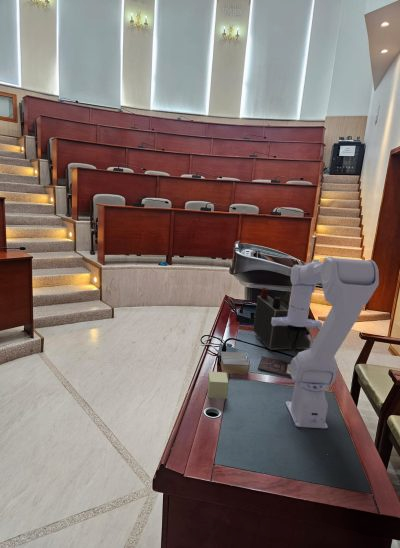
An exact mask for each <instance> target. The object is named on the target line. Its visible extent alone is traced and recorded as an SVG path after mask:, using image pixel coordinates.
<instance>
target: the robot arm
mask: <svg viewBox="0 0 400 548" xmlns="http://www.w3.org/2000/svg"><path fill="white" fill-rule="evenodd" d="M290 270H291V271H290V283H291V284H292V285H291V291H290V297H289V303H288V306H289V309H288V315H287V317H277V318H274V317H272V320H271V324H272V326H276V325H279V326H285V327H286V330H287V334H288V339H289V348H290V349H289V350H290V351H296V350H297V348H296V347H297V345H298V343H299V342H300V340H301V339H302V337H303V336H304V335H305V334H306V332H307V330H306V328H307V329H308V328H310V329H311V328H313V329H317V330H319V331H318V333H317V335H316V337H315V339H314V340H313V342H312V344H311V345H310V348H307V349H304V350H301V351H299V352H298V353H297V355H295V356H294V357H293V358H292V359H291V361H290V363H291V365H290V373H291V377H292V378H291V380H292V381H293V382H294V387H293V393H292V398H291V401H285V405H286V407H287V410H288V411H289V414H290V416H291V418H292V421H293V422H294V425H295V427H298V428H310V429H311V428H314V429H328V427H329V426H328V424H327V423H326V420H327V419H326V418H327V414H328V409H329V404H328V401H327V399H326V395H325V391H326V390H327V389H329V386H331V385H332V384H334V382H335V380H336V377H337V372H338V371H339V367H338V362H337V359H336V357H335V355H336V354H337V352H338V351H339V350H340V348H341V346H342V345H343V343H344V341H345V340H346V338H347V336H348V335H349V333H350V332H351V330H352V328H353V327H354V325H355V323H356V322H357V320H358V318H359V317H360V315H361V313H362V310H363V308H364V305H367V304H368V302H369V301H370V299H371V298H372V296H373V294H374V293H375V291H376V289H377V288H378V286H379V284H380V283H379V282H380V278H379V277H380V276H379V273H380V272H379V268H378V265H377V262H375V261H374V260H372V259H366V260H364V259H354V258H353V259H351V258H339V257H333V256H328V257H325V258H324V259H323V262H322V261H320V260H319V259H312V260H311V262H305V264H304V265H299V264H293V266H292V267H291V269H290ZM318 284H322V285H321V286H322V293H323V295H324V297H323V298H324V300H325V301H326V302H327V303H328V304H330V305H331V308H330V310H329V312H328V314H327V315H326V318H325V320H324V321H323V323H322V321H320V320H316V319H311V318H309V312H310V306H311V301H312V295H313V294H314V293H315V289H316V286H317V285H318Z"/></svg>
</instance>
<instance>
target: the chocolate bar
mask: <svg viewBox="0 0 400 548" xmlns="http://www.w3.org/2000/svg"><path fill="white" fill-rule="evenodd" d="M290 365H291V361H290V362H289V361H286V360H281V359H276V358H272V357H268V356H261V357H260V361H259V364H258V366H257V370H258V371H263V372H265V373H270V374H274V375H278V376H282V377H287V378H291V379H292V377H291V373H290Z"/></svg>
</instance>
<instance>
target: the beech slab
mask: <svg viewBox="0 0 400 548" xmlns="http://www.w3.org/2000/svg"><path fill="white" fill-rule="evenodd" d="M220 353H221V362H220V361H219V364H220V368H221V372H223V373H227V374H230V375H231V374H233V375H236V374H237V375H248V374H249V368H250V364H249V362H248V358H247V356H246V354H245V352H236V351H235V352H234V351H233V352H232V351H220ZM220 353H219V354H220Z"/></svg>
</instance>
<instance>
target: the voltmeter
mask: <svg viewBox="0 0 400 548" xmlns="http://www.w3.org/2000/svg"><path fill="white" fill-rule="evenodd" d="M256 298H257V299H256V304H255V305H256V307H255V314H254V321H253V329H252V331H253V332H254V333H255V334H256V336H257V338H259V339H260V340H261V342H263V344H264V346H266V347H267V348H268V350H269V349H271V350H285V349H286V350H288V349H289V350H290V348H289V339H288V334H287V330H286V327H285V326H279V325H276V326H272V324H271V320H272V317H274V318H277V317H287V315H288V309H289V304H288V305H287V303H285V302H284V301H282V300H281V299H282V297H280V296H274V297H273V298H272V297H271V296H269V288H267V287H263V288H261V293H260V295H257V297H256ZM306 330H307V332H306V334H305V335H304V336H303V337H302V339H301V340H300V342H299V343H298V345H297V347H296V349H298V350H299V351H305V349H310V348H311V345H312V344H311V343H312V342H311V340H310V338H309V337H308V336H309V335H310V334H311V333H310V331H309V330H308V327H306ZM271 350H270V351H271Z"/></svg>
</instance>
